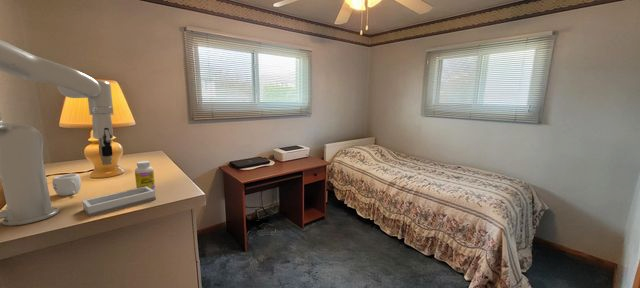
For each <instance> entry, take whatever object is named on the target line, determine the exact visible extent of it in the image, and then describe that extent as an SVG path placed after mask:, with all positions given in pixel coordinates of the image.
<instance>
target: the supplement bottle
mask: <svg viewBox="0 0 640 288" xmlns="http://www.w3.org/2000/svg"><path fill="white" fill-rule="evenodd" d="M150 161H151V160H140V161H138V162H136V166H137V168H135V169H134V176H135V185H136V188H141V187H145V186H147V187H149V188H151V189H152V190H154V191H155V190H156V184H155V175H154V174H155V172H154V168H153V167H152V166H150V165H151V162H150Z"/></svg>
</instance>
